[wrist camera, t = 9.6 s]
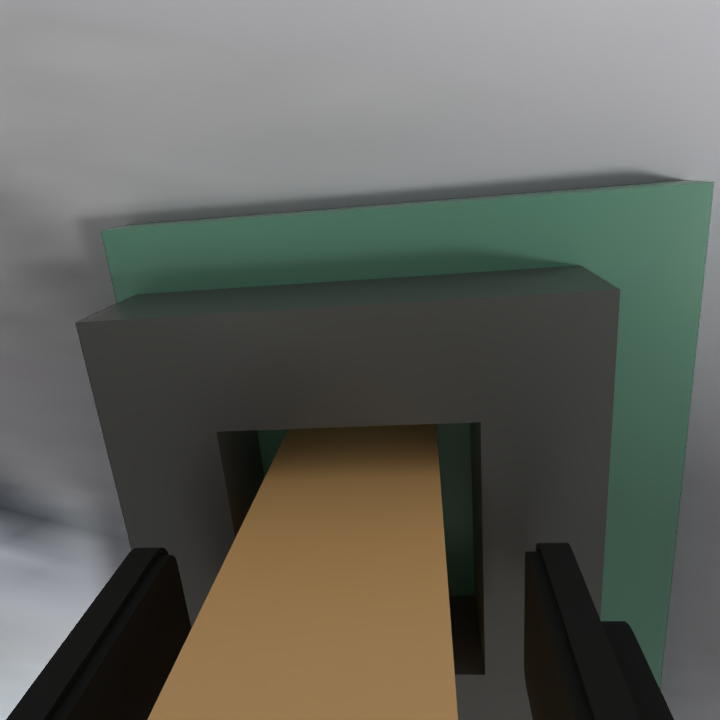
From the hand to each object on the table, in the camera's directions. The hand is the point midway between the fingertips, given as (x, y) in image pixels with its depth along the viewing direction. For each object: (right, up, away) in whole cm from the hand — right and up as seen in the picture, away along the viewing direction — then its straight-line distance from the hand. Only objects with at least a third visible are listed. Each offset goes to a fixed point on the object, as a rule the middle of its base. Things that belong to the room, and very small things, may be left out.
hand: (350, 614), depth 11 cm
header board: (+2, -4, +7) cm, 8 cm away
